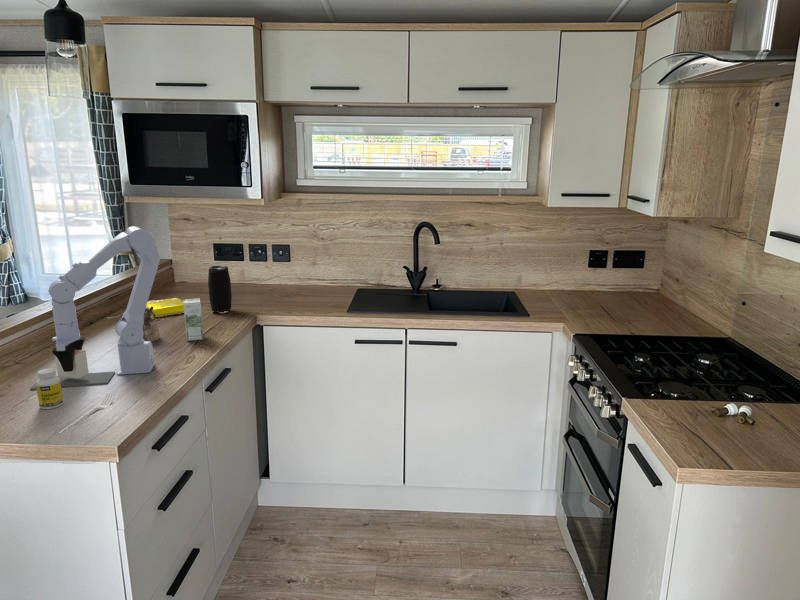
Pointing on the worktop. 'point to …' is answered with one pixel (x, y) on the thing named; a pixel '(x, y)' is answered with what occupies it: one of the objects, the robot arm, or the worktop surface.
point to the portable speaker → (219, 288)
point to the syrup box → (193, 319)
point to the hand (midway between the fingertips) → (72, 366)
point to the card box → (75, 365)
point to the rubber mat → (84, 380)
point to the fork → (93, 410)
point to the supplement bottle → (49, 389)
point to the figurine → (150, 326)
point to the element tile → (166, 306)
